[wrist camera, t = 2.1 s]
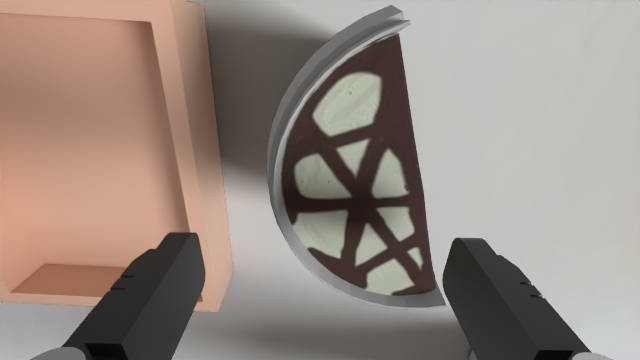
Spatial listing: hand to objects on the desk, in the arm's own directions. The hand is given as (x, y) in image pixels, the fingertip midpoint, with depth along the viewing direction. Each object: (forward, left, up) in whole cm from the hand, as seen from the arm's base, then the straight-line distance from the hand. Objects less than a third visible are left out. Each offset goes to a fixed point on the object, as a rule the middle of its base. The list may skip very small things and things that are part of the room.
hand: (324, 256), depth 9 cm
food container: (-1, 0, -12) cm, 12 cm away
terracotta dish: (+15, +3, -12) cm, 19 cm away
